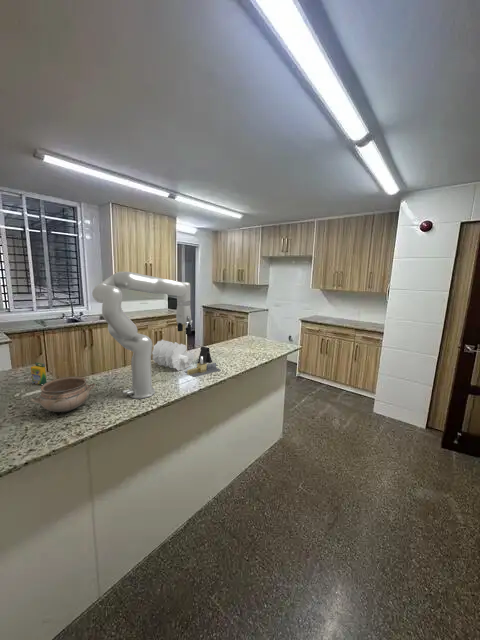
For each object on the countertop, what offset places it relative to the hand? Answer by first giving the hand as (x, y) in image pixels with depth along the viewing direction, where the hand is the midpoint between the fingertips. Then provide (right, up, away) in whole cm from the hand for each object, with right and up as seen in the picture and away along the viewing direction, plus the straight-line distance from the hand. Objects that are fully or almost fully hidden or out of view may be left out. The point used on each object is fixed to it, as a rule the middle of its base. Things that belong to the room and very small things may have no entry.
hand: (184, 332), depth 159 cm
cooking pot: (-46, -34, -35) cm, 67 cm away
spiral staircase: (-13, -25, +23) cm, 36 cm away
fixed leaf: (+12, -25, +19) cm, 34 cm away
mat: (+9, -26, +17) cm, 32 cm away
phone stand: (+8, -24, +33) cm, 41 cm away
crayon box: (-79, -28, -8) cm, 84 cm away
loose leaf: (+5, -26, +13) cm, 30 cm away
